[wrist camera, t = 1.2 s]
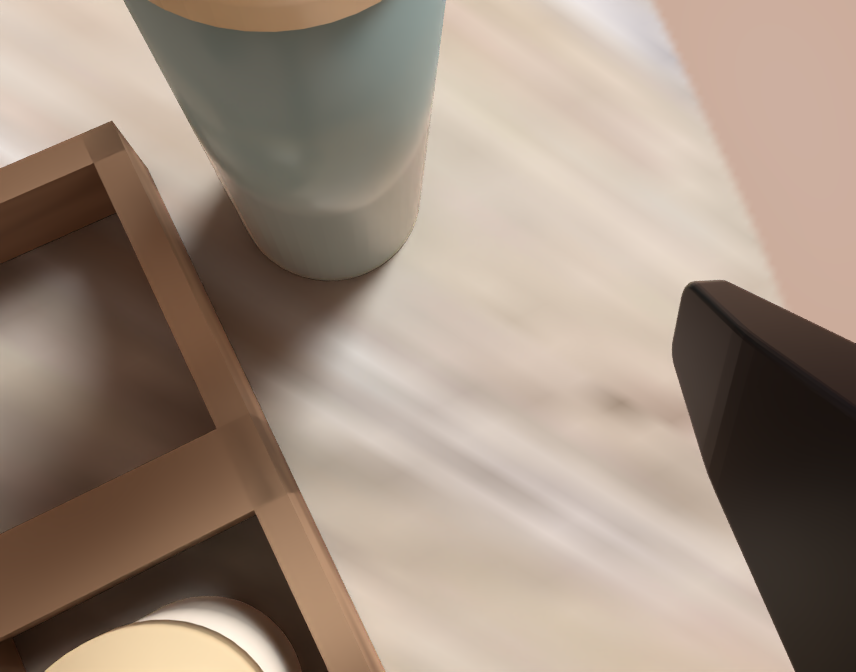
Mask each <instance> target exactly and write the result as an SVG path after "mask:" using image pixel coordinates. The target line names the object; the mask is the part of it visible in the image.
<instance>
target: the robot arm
mask: <svg viewBox="0 0 856 672" xmlns="http://www.w3.org/2000/svg"><path fill="white" fill-rule="evenodd" d="M672 358H673V363H674V367H675V370H676V373H677V377H678V380H679V383H680V387H681V390H682V393H683V396H684V400H685V403H686V406H687V410H688V413H689V416H690V419H691V423H692V426H693V429H694V433H695V436H696V439H697V442H698V446H699V449H700V452H701V456H702V459H703V462H704V465H705V467H706V470H707V473H708V476H709V478H710V481H711V483H712V486H713V488H714V490H715V493H716V495H717V497H718V500H719V502H720V504H721V506H722V509H723V511H724V513H725V515H726V518H727V520H728V522H729V524H730V527H731V529H732V531H733V533H734V536H735V538H736V540H737V542H738V545H739V547H740V549H741V551H742V554H743V556H744V558H745V560H746V562H747V565H748V567H749V569H750V571H751V574H752V576H753V578H754V580H755V583H756V585H757V587H758V589H759V592H760V594H761V596H762V598H763V601H764V603H765V605H766V607H767V610H768V612H769V614H770V616H771V619H772V621H773V623H774V625H775V628H776V630H777V632H778V634H779V637H780V639H781V641H782V643H783V646H784V648H785V650H786V652H787V655H788V657H789V659H790V661H791V664H792V666H793V668H794V670H795V672H856V343H854V342H851V341H850V340H847V339H845V338H843V337H841V336H839V335H837V334H835V333H833V332H830V331H829V330H827V329H825V328H823V327H821V326H819V325H817V324H814V323H812V322H810V321H808V320H806V319H804V318H802V317H800V316H798V315H796V314H794V313H792V312H790V311H788V310H786V309H783V308H781V307H779V306H777V305H775V304H773V303H771V302H769V301H767V300H765V299H763V298H761V297H759V296H757V295H755V294H752V293H750V292H748V291H746V290H744V289H742V288H740V287H738V286H736V285H734V284H732V283H730V282H728V281H725V280H710V281H694V282H690V283H689V284H688V285H687V286H686V287H685V289H684V291H683V293H682V297H681V302H680V307H679V312H678V317H677V322H676V327H675V332H674V337H673V342H672Z"/></svg>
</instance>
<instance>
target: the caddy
mask: <svg viewBox="0 0 856 672" xmlns="http://www.w3.org/2000/svg"><path fill="white" fill-rule="evenodd" d="M114 213H117V215H118V217H119V219H120V221H121V223H122V226H123V228H124V230H125V232H126V234H127V236H128V239H129V241H130V243H131V245H132V247H133V249H134V251H135V254H136V256H137V258H138V260H139V262H140V264H141V267H142V269H143V271H144V273H145V275H146V277H147V280H148V282H149V284H150V286H151V288H152V290H153V293H154V295H155V297H156V299H157V301H158V303H159V306H160V308H161V310H162V312H163V314H164V316H165V319H166V321H167V323H168V325H169V327H170V329H171V332H172V334H173V336H174V338H175V340H176V342H177V344H178V347H179V349H180V351H181V353H182V355H183V357H184V360H185V362H186V364H187V366H188V368H189V370H190V373H191V375H192V377H193V379H194V381H195V383H196V386H197V388H198V390H199V392H200V394H201V396H202V399H203V401H204V403H205V405H206V407H207V409H208V412H209V414H210V416H211V418H212V420H213V422H214V424H215V427H216V429H215V430H213V431H211V432H209V433H207V434H205V435H203V436H201V437H199V438H197V439H195V440H193V441H190V442H188V443H186V444H184V445H182V446H180V447H178V448H176V449H174V450H172V451H170V452H168V453H166V454H164V455H162V456H160V457H158V458H156V459H154V460H151V461H149V462H147V463H145V464H143V465H141V466H139V467H137V468H135V469H133V470H131V471H129V472H127V473H125V474H123V475H121V476H119V477H117V478H114V479H112V480H110V481H108V482H106V483H104V484H102V485H100V486H98V487H96V488H94V489H92V490H90V491H88V492H86V493H84V494H82V495H80V496H77V497H75V498H73V499H71V500H69V501H67V502H65V503H63V504H61V505H59V506H57V507H55V508H53V509H51V510H49V511H47V512H45V513H43V514H41V515H38V516H36V517H34V518H32V519H30V520H28V521H26V522H24V523H22V524H20V525H18V526H16V527H14V528H12V529H10V530H8V531H6V532H4V533H1V534H0V672H26V670H25V668H24V665H23V663H22V660H21V658H20V655H19V653H18V650H17V648H16V646H15V643H14V641H13V638H12V637H14V636H16V635H18V634H20V633H22V632H24V631H26V630H28V629H30V628H32V627H34V626H36V625H38V624H40V623H42V622H44V621H46V620H48V619H50V618H52V617H54V616H56V615H58V614H60V613H62V612H64V611H66V610H68V609H70V608H72V607H74V606H76V605H78V604H80V603H82V602H84V601H86V600H88V599H90V598H92V597H94V596H96V595H98V594H100V593H102V592H104V591H106V590H108V589H110V588H112V587H114V586H116V585H118V584H120V583H122V582H123V581H125V580H127V579H129V578H131V577H133V576H135V575H137V574H139V573H141V572H143V571H145V570H147V569H149V568H151V567H153V566H155V565H157V564H159V563H161V562H163V561H165V560H167V559H169V558H171V557H173V556H175V555H177V554H179V553H181V552H183V551H185V550H187V549H189V548H191V547H193V546H195V545H197V544H199V543H201V542H203V541H205V540H207V539H209V538H211V537H213V536H215V535H217V534H219V533H221V532H223V531H225V530H227V529H229V528H231V527H233V526H234V525H236V524H238V523H240V522H242V521H244V520H246V519H248V518H250V517H252V516H254V515H257V517H258V520H259V522H260V524H261V526H262V528H263V530H264V533H265V535H266V537H267V539H268V541H269V543H270V546H271V548H272V550H273V552H274V554H275V556H276V559H277V561H278V563H279V565H280V567H281V569H282V572H283V574H284V576H285V578H286V580H287V582H288V584H289V587H290V589H291V591H292V593H293V595H294V597H295V600H296V602H297V604H298V606H299V608H300V610H301V613H302V615H303V617H304V619H305V621H306V623H307V626H308V628H309V630H310V632H311V634H312V636H313V639H314V641H315V643H316V645H317V647H318V649H319V652H320V654H321V656H322V658H323V660H324V662H325V665H326V667H327V669H328V671H329V672H385V670H384V668H383V666H382V664H381V661H380V659H379V657H378V655H377V653H376V651H375V649H374V647H373V645H372V642H371V640H370V638H369V636H368V634H367V632H366V630H365V628H364V626H363V623H362V621H361V619H360V617H359V615H358V613H357V611H356V609H355V606H354V604H353V602H352V600H351V598H350V596H349V594H348V592H347V590H346V587H345V585H344V583H343V581H342V579H341V577H340V575H339V573H338V570H337V568H336V566H335V564H334V562H333V560H332V558H331V556H330V554H329V551H328V549H327V547H326V545H325V543H324V541H323V539H322V537H321V534H320V532H319V530H318V528H317V526H316V524H315V522H314V520H313V518H312V515H311V513H310V511H309V509H308V507H307V505H306V503H305V501H304V499H303V496H302V494H301V492H300V490H299V488H298V486H297V484H296V482H295V479H294V477H293V475H292V473H291V471H290V469H289V467H288V465H287V463H286V460H285V458H284V456H283V454H282V452H281V450H280V448H279V446H278V443H277V441H276V439H275V437H274V435H273V433H272V431H271V429H270V427H269V424H268V422H267V420H266V418H265V416H264V414H263V412H262V410H261V408H260V405H259V403H258V401H257V399H256V397H255V395H254V393H253V391H252V388H251V386H250V384H249V382H248V380H247V378H246V376H245V374H244V372H243V369H242V367H241V365H240V363H239V361H238V359H237V357H236V355H235V352H234V350H233V348H232V346H231V344H230V342H229V340H228V338H227V336H226V333H225V331H224V329H223V327H222V325H221V323H220V321H219V319H218V317H217V314H216V312H215V310H214V308H213V306H212V304H211V302H210V300H209V297H208V295H207V293H206V291H205V289H204V287H203V285H202V283H201V281H200V278H199V276H198V274H197V272H196V270H195V268H194V266H193V264H192V261H191V259H190V257H189V255H188V253H187V251H186V249H185V247H184V245H183V242H182V240H181V238H180V236H179V234H178V232H177V230H176V228H175V226H174V223H173V221H172V219H171V217H170V215H169V213H168V211H167V209H166V206H165V204H164V202H163V200H162V198H161V196H160V194H159V192H158V190H157V187H156V185H155V183H154V181H153V179H152V177H151V175H150V173H149V170H148V168H147V167H146V166H145V164H144V163H143V162H142V160H141V159H140V158H139V156H138V155H137V154H136V152H135V151H134V150H133V148H132V147H131V146H130V144H129V143H128V142H127V140H126V139H125V138H124V136H123V135H122V134H121V132H120V131H119V130H118V128H117V127H116V126H115V124H114V123H113V122H112V121H110V122H108V123H106V124H103V125H101V126H99V127H96V128H94V129H92V130H89V131H87V132H85V133H82V134H80V135H78V136H75V137H73V138H70V139H68V140H66V141H63V142H61V143H59V144H56V145H54V146H52V147H49V148H47V149H45V150H42V151H40V152H38V153H35V154H33V155H31V156H28V157H26V158H24V159H21V160H19V161H17V162H14V163H12V164H10V165H7V166H5V167H3V168H0V264H1V263H3V262H6V261H8V260H10V259H13V258H15V257H17V256H19V255H22V254H24V253H26V252H28V251H31V250H33V249H35V248H37V247H40V246H42V245H44V244H46V243H49V242H51V241H53V240H55V239H58V238H60V237H62V236H64V235H67V234H69V233H71V232H73V231H76V230H78V229H80V228H83V227H85V226H87V225H89V224H92V223H94V222H96V221H98V220H101V219H103V218H105V217H107V216H110V215H112V214H114Z"/></svg>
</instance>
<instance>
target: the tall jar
mask: <svg viewBox="0 0 856 672" xmlns="http://www.w3.org/2000/svg"><path fill="white" fill-rule="evenodd" d="M124 2H125V4H126V6H127V8H128V10H129V12H130V13H131V15H132V17H133V19H134V21H135V23H136V25H137V26H138V28H139V30H140V32H141V34H142V36H143V38H144V39H145V41H146V43H147V45H148V47H149V49H150V51H151V52H152V54H153V56H154V58H155V60H156V62H157V64H158V66H159V67H160V69H161V71H162V73H163V75H164V77H165V79H166V80H167V82H168V84H169V86H170V88H171V90H172V92H173V93H174V95H175V97H176V99H177V101H178V103H179V105H180V106H181V108H182V110H183V112H184V114H185V116H186V118H187V120H188V121H189V123H190V125H191V127H192V129H193V131H194V133H195V134H196V136H197V138H198V140H199V142H200V144H201V146H202V147H203V149H204V151H205V153H206V155H207V157H208V159H209V160H210V162H211V164H212V166H213V168H214V170H215V172H216V174H217V175H218V177H219V179H220V181H221V183H222V185H223V187H224V188H225V190H226V192H227V194H228V196H229V198H230V200H231V201H232V203H233V205H234V207H235V209H236V211H237V213H238V214H239V216H240V218H241V220H242V222H243V224H244V226H245V228H246V229H247V231H248V233H249V235H250V236H251V238H252V240H253V241H254V243H255V244H256V245H257V247H258V248H259V249H260V250H261V251H262V252H263V253H264V254H265V255H266V256H267V257H268V258H269V259H270V260H271V261H273V262H274V263H275V264H277V265H278V266H280V267H282V268H283V269H285V270H287V271H289V272H291V273H294V274H296V275H299V276H302V277H306V278H309V279H315V280H323V281H336V280H344V279H350V278H353V277H357V276H360V275H363V274H365V273H368V272H370V271H372V270H374V269H376V268H378V267H379V266H381V265H382V264H384V263H385V262H386V261H388V260H389V259H390V258H391V257H392V256H393V255H395V254H396V253H397V252H398V251H399V249H400V248H401V247H402V246H403V244H404V243H405V242H406V240H407V238H408V237H409V235H410V233H411V232H412V229H413V227H414V225H415V222H416V219H417V215H418V212H419V205H420V197H421V190H422V182H423V174H424V166H425V158H426V151H427V143H428V135H429V127H430V119H431V111H432V104H433V96H434V88H435V80H436V72H437V65H438V57H439V49H440V41H441V33H442V26H443V18H444V10H445V2H446V0H124Z"/></svg>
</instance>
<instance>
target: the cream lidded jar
mask: <svg viewBox="0 0 856 672" xmlns="http://www.w3.org/2000/svg"><path fill="white" fill-rule="evenodd" d="M45 672H302V671H301V667H300V663H299V661H298V658H297V655H296V653H295V651H294V649H293V647H292V645H291V643H290V641H289V640H288V638H287V637H286V636H285V634H284V633H283V632H282V630H281V629H280V628H279V627H278V626H277V625H276V624H275V623H274V622H273V621H272V620H271V619H270V618H269V617H267V616H266V615H265V614H264V613H262V612H261V611H259V610H257V609H256V608H254V607H252V606H251V605H248V604H246V603H243V602H241V601H238V600H234V599H231V598H227V597H219V596H197V597H190V598H185V599H182V600H178V601H175V602H172V603H170V604H168V605H165V606H163V607H161V608H159V609H157V610H156V611H154V612H152V613H150V614H148V615H146V616H145V617H143V618H141V619H139V620H137V621H135V622H134V623H131V624H127V625H124V626H120V627H117V628H115V629H113V630H110V631H108V632H106V633H103V634H101V635H99V636H97V637H95V638H93V639H91V640H90V641H88V642H86V643H84V644H82V645H80V646H79V647H77V648H75V649H74V650H72V651H70V652H69V653H67V654H65V655H64V656H63V657H61V658H60V659H59V660H58V661H56V662H55V663H54V664H52V665H51V666H50V667H49V668H48V669H47V670H46V671H45Z"/></svg>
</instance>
